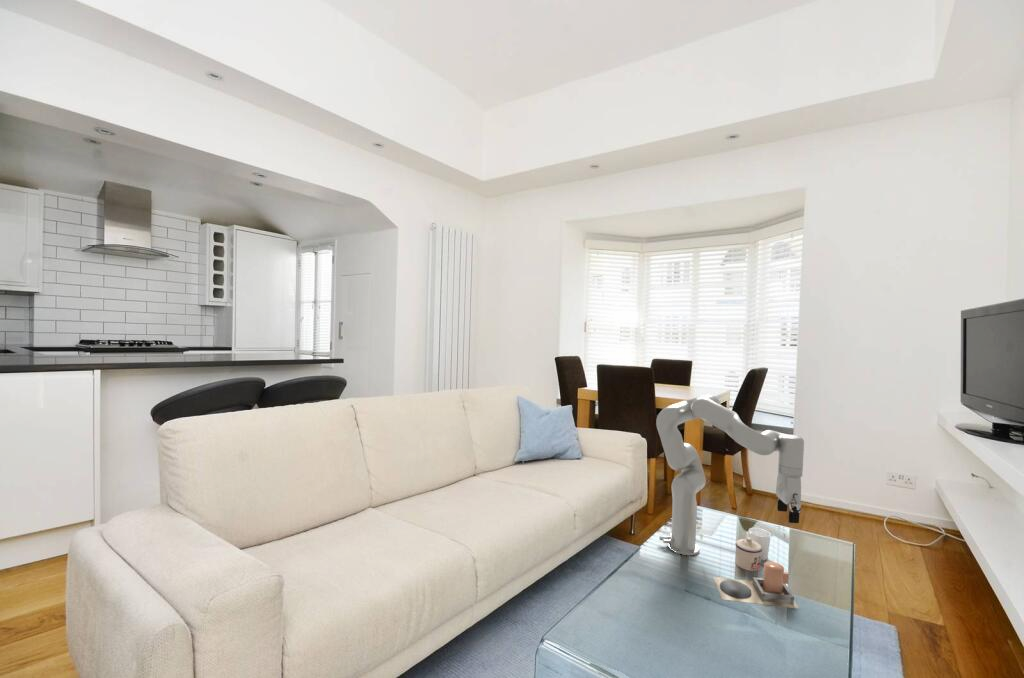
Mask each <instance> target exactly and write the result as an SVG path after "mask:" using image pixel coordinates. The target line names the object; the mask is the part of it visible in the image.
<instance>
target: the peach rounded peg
mask: <svg viewBox="0 0 1024 678" xmlns="http://www.w3.org/2000/svg"><path fill="white" fill-rule="evenodd" d="M789 579H790V574H789V572H788V571H785V568H784V566H783V565H782V564H781V563H779V562H775V561H765V562H764V563H763V591H764V592H766V593H775V594H783V584H786V585H789V581H790V580H789Z"/></svg>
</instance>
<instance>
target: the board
mask: <svg viewBox="0 0 1024 678" xmlns="http://www.w3.org/2000/svg"><path fill="white" fill-rule="evenodd" d="M712 578H713V580H714V584H715V587H716V588H717V590H718V594H719V595H720V597H721V600H724V601H732V602H740V603H748V604H758V605H766V606H774V607H782V608H790V609H797V610H799V609H800V607H799V605H798V603H796V601H795V596H794V595H793V593H792V592H791V590H790V589H789V587H788V586H787V584H783V594H775V593H766V592H764V591H763V578H762V577H753V576H752V580H745V579H737V578H736V579H735V578H726V577H719V576H712Z"/></svg>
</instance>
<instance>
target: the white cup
mask: <svg viewBox="0 0 1024 678" xmlns="http://www.w3.org/2000/svg"><path fill="white" fill-rule="evenodd" d="M771 535H772V534H771V533H770V531H768V530H766V529H764V528H759V527H750V528H748V537H749V538H751V539H752V541H754V542H756V543H758V544H759V545H760V546H761V548H762V551H761V561H767V560H768V558H769V552H770V546H771V545H770V543H771V537H772V536H771Z"/></svg>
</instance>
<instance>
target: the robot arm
mask: <svg viewBox="0 0 1024 678" xmlns="http://www.w3.org/2000/svg"><path fill="white" fill-rule="evenodd" d="M698 419H700V420H701V421H704V422H706V423H708V424H710V425H712V426H713V427H716V428H717V429H719V430H721V431H723V432H724V433H726V434H727V435H728V436H729V437H730V438H731V439H733V441H734V442H735V443H737V444H738V445H740V446H742V447H744V448H745V449H747V450H749V451H751V452H753V453H755V454H756V455H760V456H769V455H771V454H773V453H775V452H778V467H777V469H778V470H777V473H778V474H777V478H776V486H775V487H776V488H775V495H776V497H777V508H776V509H777V511H778V512H788V523H790V524H799V523H800V513H801V508H802V501H801V500H802V477H803V472H804V471H803V470H804V469H803V468H804V451H805V440H804V438H803V437H801V436H799V435H795V434H786V433H782V432H780V431H779V432H778V431H776V430H771V429H766V430H764V431H762V432H758V431H756V430H755V429H753V428H751V427H750V426H749V425H746V424H745V423H744V422H743V421H742V420H741V418H740V416H739V414H738V413H737V412H736V411H734V410H732V409H730V408H727V407H725V406H724V405H722V404H721V402H720V400H719V399H718V398H717V397H716V396H715V395H713V394H704V395H701V396H699V397H694V398H691V399H685V400H682V401H679V402H676V403H673V404H670V405H668V406H666V407H664V408H663V409H661V411H660V412H659V413H658V414H657V417H656V419H655V420H656V423H655V425H656V429H657V432H658V435H659V438H660V441H661V446H662V448H663V451H664V455H665V458H666V461H667V464H668V466H669V467H670V469H672V470H674V471H677V472H679V471H680V473H678V474H677V475H676V476H675V477H674V478H673V480H672V482H671V487H670V488H671V495H672V505H671V506H672V508H671V509H672V511H671V513H672V514H671V531H670V532H671V533H670V532H669V535H660V534H659V541H662V543H664V544H667V543H669V544H670V547H671V549H673V550H674V551H676V552H677V553H679V554H678V555H680V554H682V555H681V556H686V555H687V556H688V557H689V556H695V555H698V554H699V553H700V546H699V545H698V544H697V543H696V540H697V523H698V522H697V518H698V516H697V515H698V513H697V512H698V504H697V503H698V502H697V493H699V492H700V491H701V490H702V489H703V488H705V486H706V482H707V481H706V479H707V478H706V475H705V471H704V468H703V465H702V462H701V458H700V455H699V453H698V451H697V449H696V448H695V447H694V446H693V445H692V444H690V443H689V442H688V443H687V442H684V440H683V435H682V433H681V432H680V430H679V428H678V426H679V425H681V424H684V423H687V422H689V421H692V420H698ZM788 506H789V507H788ZM788 508H789V511H788ZM677 553H676V554H677Z"/></svg>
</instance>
